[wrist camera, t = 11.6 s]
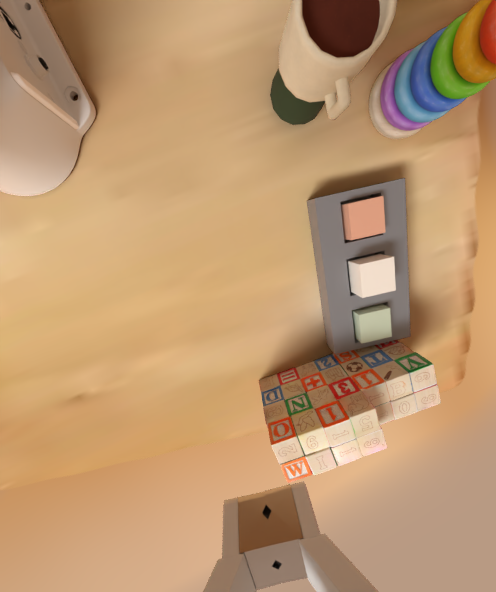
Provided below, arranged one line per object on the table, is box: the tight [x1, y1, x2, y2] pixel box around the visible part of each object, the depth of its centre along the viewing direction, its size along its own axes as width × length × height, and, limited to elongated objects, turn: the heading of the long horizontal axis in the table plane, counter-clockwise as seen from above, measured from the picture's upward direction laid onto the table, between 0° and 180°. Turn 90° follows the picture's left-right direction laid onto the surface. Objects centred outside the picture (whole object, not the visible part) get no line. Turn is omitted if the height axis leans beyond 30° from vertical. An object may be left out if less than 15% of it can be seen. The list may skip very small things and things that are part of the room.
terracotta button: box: [341, 196, 385, 240], centre depth 31 cm, size 4×4×3 cm
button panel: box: [307, 178, 411, 354], centre depth 34 cm, size 21×11×3 cm, turn 12°
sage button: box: [352, 304, 392, 343], centre depth 35 cm, size 4×4×3 cm
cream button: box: [348, 254, 396, 298], centre depth 32 cm, size 4×4×3 cm
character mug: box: [270, 0, 397, 125], centre depth 23 cm, size 11×7×13 cm, turn 16°
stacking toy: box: [369, 0, 496, 139], centre depth 21 cm, size 8×8×19 cm
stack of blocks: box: [259, 340, 441, 483], centre depth 34 cm, size 21×6×12 cm, turn 111°
